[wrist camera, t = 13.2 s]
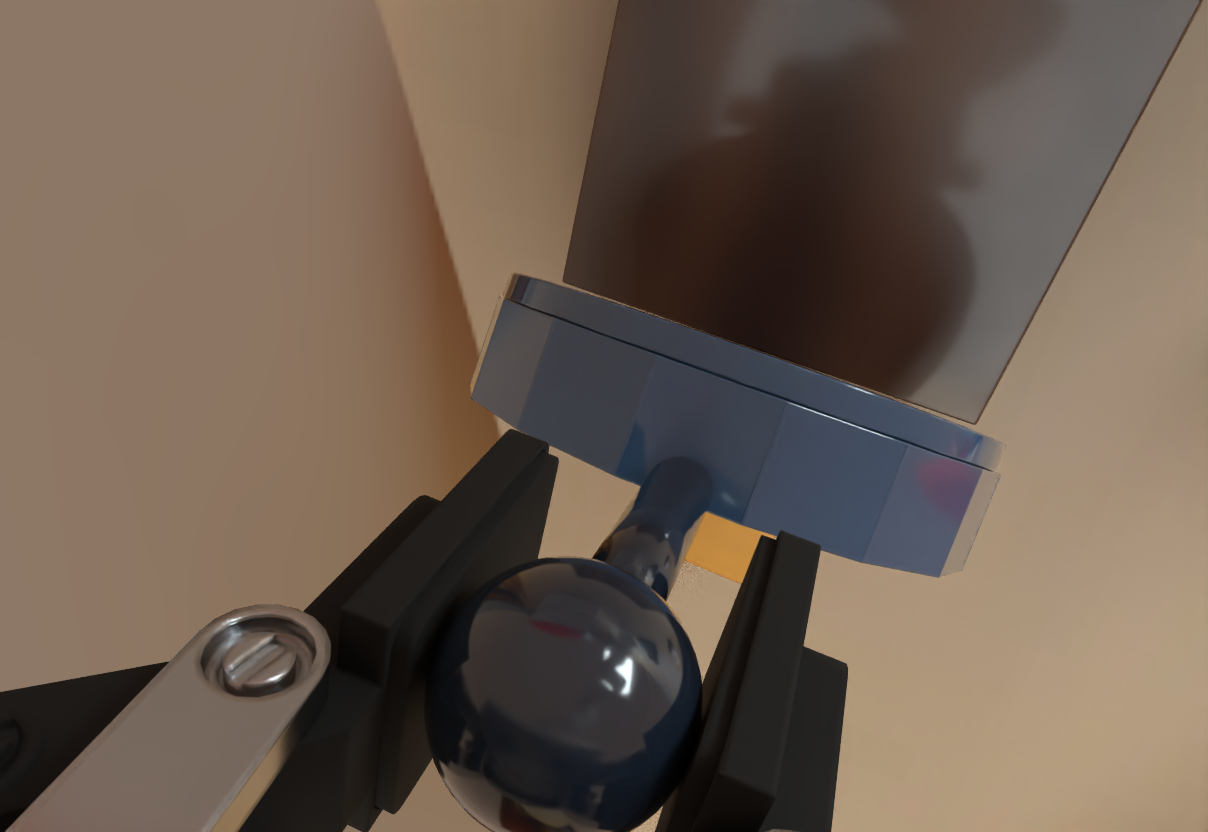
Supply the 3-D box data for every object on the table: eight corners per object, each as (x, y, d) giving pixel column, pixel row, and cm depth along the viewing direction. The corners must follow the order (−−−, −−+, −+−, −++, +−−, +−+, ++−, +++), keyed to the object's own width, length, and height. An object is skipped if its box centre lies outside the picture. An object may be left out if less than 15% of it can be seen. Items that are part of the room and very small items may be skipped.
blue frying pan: (1499, 572, 6) (1169, 1252, 6) (945, 430, 24) (876, 604, 25) (100, 96, 8) (-49, 637, 8) (578, 301, 26) (522, 464, 27)
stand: (1175, -30, 21) (1221, -32, 18) (970, 372, 27) (975, 426, 24) (690, -144, 23) (650, -166, 20) (602, 248, 29) (560, 282, 26)
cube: (752, 589, 28) (773, 516, 32) (798, 482, 26) (815, 417, 30) (626, 537, 29) (662, 472, 33) (660, 429, 26) (694, 372, 30)
